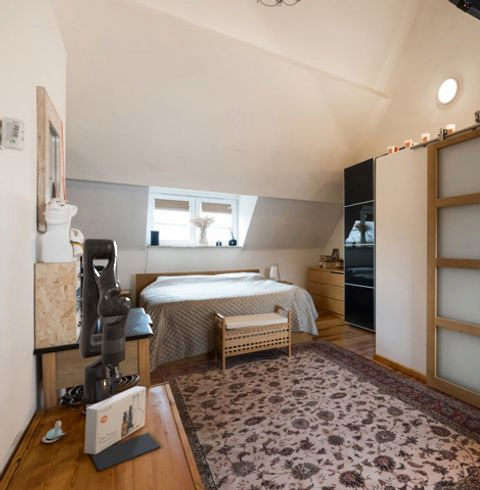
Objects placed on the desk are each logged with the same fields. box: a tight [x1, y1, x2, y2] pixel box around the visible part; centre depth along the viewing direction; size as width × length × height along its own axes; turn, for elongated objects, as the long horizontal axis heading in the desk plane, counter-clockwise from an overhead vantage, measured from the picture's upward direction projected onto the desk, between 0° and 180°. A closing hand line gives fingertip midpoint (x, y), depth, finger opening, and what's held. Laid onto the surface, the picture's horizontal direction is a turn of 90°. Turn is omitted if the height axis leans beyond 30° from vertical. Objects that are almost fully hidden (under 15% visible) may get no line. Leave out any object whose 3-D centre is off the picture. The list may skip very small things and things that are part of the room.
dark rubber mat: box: [89, 432, 161, 472], centre depth 125 cm, size 13×18×1 cm
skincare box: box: [83, 385, 147, 455], centre depth 132 cm, size 21×6×16 cm, turn 168°
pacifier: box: [41, 420, 66, 444], centre depth 131 cm, size 7×6×6 cm
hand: (113, 393), depth 136 cm, fingers closed
